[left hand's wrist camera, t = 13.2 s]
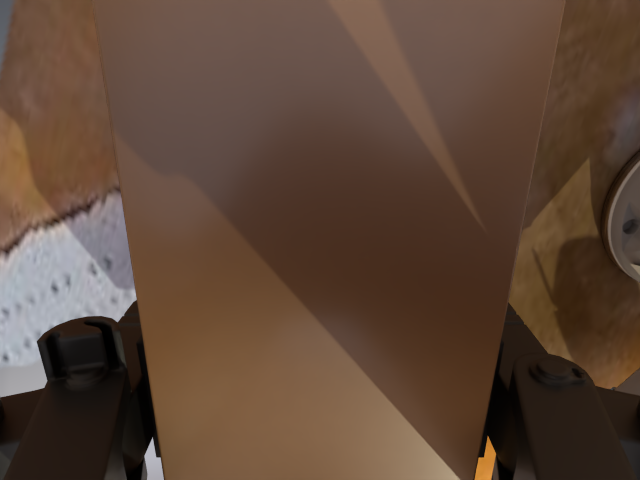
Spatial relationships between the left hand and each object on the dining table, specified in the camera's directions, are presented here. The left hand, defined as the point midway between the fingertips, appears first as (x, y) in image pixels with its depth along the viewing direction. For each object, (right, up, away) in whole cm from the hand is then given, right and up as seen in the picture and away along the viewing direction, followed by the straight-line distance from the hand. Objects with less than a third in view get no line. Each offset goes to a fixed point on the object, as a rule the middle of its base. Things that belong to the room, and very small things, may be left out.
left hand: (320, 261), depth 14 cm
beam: (0, -16, +7) cm, 18 cm away
